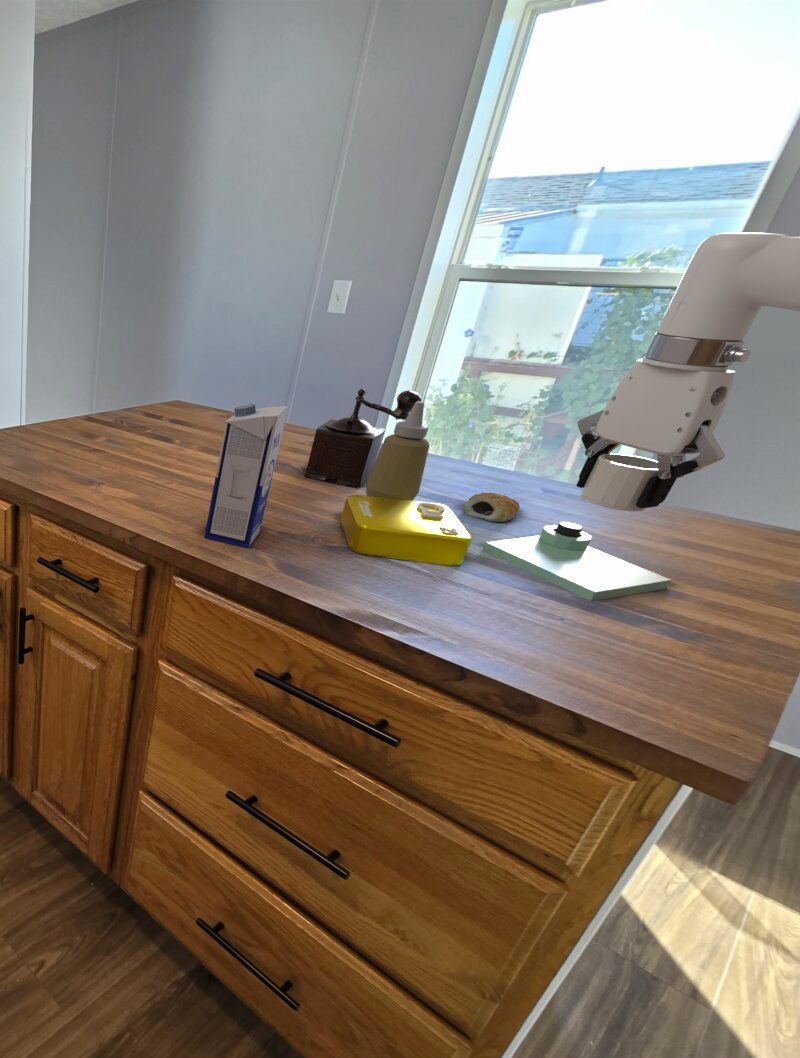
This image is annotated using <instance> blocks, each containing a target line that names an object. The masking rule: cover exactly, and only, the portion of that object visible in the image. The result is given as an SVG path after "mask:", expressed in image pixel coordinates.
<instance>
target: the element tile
mask: <svg viewBox="0 0 800 1058" xmlns="http://www.w3.org/2000/svg"><path fill="white" fill-rule="evenodd" d="M340 523H341V527H342V529H343V533H344V535H345V538H346V541H347V544H348V546H349V548H350V549H351V550H352V551H353V552H354V553H357V554H360V555H365V556H370V557H377V558H378V557H379V558H387V559H394V560H401V561H409V562H417V563H425V564H431V565H440V566H447V567H457V566H460V565H462V564H463V562H464V559H465V557H466V554H467V552H468V550H469V547H470V545H471V543H472V540H473V537H472V536H471V534H470V533H469V531H468V530H467V529H466V528H465V526H464V525H463V524H462V522H461V521H460V520H459V517H457V516H456V514H455V513H454V511H453V510H452V509H451V508H450V507H449V506H447V505H445V504H442V503H435V502H426V501H418V500H413V501H409V500H400V499H391V498H382V497H373V496H367V495H361V494H350V495H348V496H347V497H346V498H345V501H344V505H343V508H342V512H341V516H340Z"/></svg>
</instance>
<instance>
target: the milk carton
mask: <svg viewBox="0 0 800 1058" xmlns="http://www.w3.org/2000/svg"><path fill="white" fill-rule="evenodd" d="M288 411H289V405H282V406H275V405H273V406H269V407H268V406H267V407H262V408H256V404H255V403H252V404H246V405H240V406H237V407H235V408H234V415H232V416H231V417H229V418H228V419H227V420H225V422H224V429H223V434H222V439H221V445H220V451H219V456H218V460H217V466H216V470H215V478H214V482H213V488H212V494H211V498H210V504H209V508H208V509H209V510H208V515H207V519H206V526H205V531H204V539H207V540H211V541H216V542H220V543H224V544H228V545H232V546H236V547H241V548H245V549H249V548H250V547H251V545H252V544H253V542H254V541H255V540H256V539H257V537H258V536H259V535H260V532H261V527H262V524H263V519H264V515H265V511H266V506H267V502H268V497H269V493H270V488H271V485H272V479H273V475H274V471H275V466H276V462H277V458H278V454H279V450H280V445H281V440H282V436H283V431H284V428H285V423H286V418H287V414H288Z"/></svg>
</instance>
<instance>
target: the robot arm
mask: <svg viewBox="0 0 800 1058" xmlns="http://www.w3.org/2000/svg"><path fill="white" fill-rule="evenodd" d="M763 307H770V308H776V309H782V310H783V309H784V310H787V311H788V310H789V311H794V312H799V313H800V236H789V235H787V234H782V233H771V232H770V233H769V232H721V233H716V234H712V235H710V236H708V237H706V238H704V239H703V240H702V242H700V244H698V246H697V247H696V250H695V252H694V253H693V255H692V257H691V259H690V261H689V263H688V265H687V267H686V269H685V271H684V273H683V276H681V279H680V282H679V284H678V286H677V288H676V290H675V292H674V294H673V296H672V298H671V301H670V302H669V304H668V305H667V308H666V310H665V313H664V315H663V317H662V318H661V321H660V322H659V325H658V327H657V329H656V331H655V333H654V335H653V337H652V339H651V341H650V344H649V346H648V347H647V350H646V352H645V354H644V356H643V358H639V359H636V361H635V362H634V363H633V364H632V365H631V366H630V368H629V369H628V370H627V372H626V373H625V375H624V376H623V378H622V379H621V381H620V382H619V383H618V385H617V386H616V388H615V390H614V391H613V393H612V394H611V396H610V398H609V399H608V402H607V403H606V405H605V407H604V409H602V410H600V411H596V412H595V413H593V414H591V415H590V414H589V415H588V416H586V417H584V418H581V419H580V420H578V421H577V427H578V430H579V432H580V436H581V442H582V444H583V446H584V448H585V451H584V456H585V457H586V460H585V462H584V465H583V466H582V468H581V471H580V472H579V475H578V478H579V479H578V480H577V483H576V484H575V485H576V487H577V488H580V489H583V488H584V486H585V484H586V482H587V480H588V478H589V476H590V474H591V472H592V470H593V468H594V466H595V464H596V462H597V459H598V457H599V456H600V455H602V454H609V453H612V452H613V451H614V450H615V449H616V448H618V447H619V446H620V445H622V446H625V447H629V448H633V449H636V450H640V451H644V452H648V453H651V454H655V455H657V461H658V475H657V476H655V477H651V478H650V479H649V481H648V482H647V484H646V486H645V488H644V490H643V492H642V494H641V496H640V497H639V499H638V501H637V503H636V505H637V507H639V508H646V509H649V508H656V507H658V506H659V505H660V504H662V503H663V502H665V500H666V499H667V497H668V495H669V493H671V489H672V488H673V486H674V484H675V483H676V481H677V479H678V478H683V477H684V476H686V475H689V474H693V473H695V472H697V471H699V470H702V469H703V468H706V467H708V466H710V465H712V464H715V463H717V462H719V461H722V460H723V459H724V458H725V453H724V451H723V449H722V447H721V445H720V444H719V442H718V440H717V438H716V437H715V435H714V432H715V430H716V427H718V424H719V422H720V419H721V417H722V415H723V413H724V410H725V408H726V405H727V403H728V400H729V398H730V394H731V391H732V389H733V388H732V387H733V385H734V381H735V376H736V371H735V370H732V369H729V367H730V366H732V365H733V363H744V362H746V361H747V360H748V359H749V358H750V356H751V354H752V352H751V349H745V348H743V346H744V344H745V341H744V340H745V338H746V336H747V334H748V332H749V330H750V329H751V327H752V325H753V323H754V322H755V319H756V318H757V316H758V314H759V312H760V311H761V308H763ZM698 453H699V454H698ZM687 454H688V455H692V454H693V455H694V454H698V455H697V456H696V457H694V458H692V459H690V460H687V458H686V457H687Z"/></svg>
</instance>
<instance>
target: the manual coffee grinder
mask: <svg viewBox="0 0 800 1058" xmlns="http://www.w3.org/2000/svg"><path fill="white" fill-rule="evenodd" d="M366 394H367V391H366V389H365V388H360V389H359V390H357V396H356V397H355V401H356V402H355V404H354V409H353V412H352V414H351V416H346V417H343V418H341V419H329V420H328V421H326V422H325V423H323V424H322V425H319V426H318V427H317V428H316V430H315V433H314V438H313V441H312V445H311V449H310V454H309V458H308V461H307V466H306V470H305V472H304V477H305V478H309V479H314V480H318V481H323V482H327V483H331V484H339V485H344V486H350V487H356V488H360V487H363V486H364V485H366V482H367V480H368V477H369V475H370V473H371V470H372V468H373V466H374V463H375V461H376V459H377V456H378V454H379V452H380V449H381V446H382V445H381V444H382V442H383V440H384V439H383V438H384V436H385V432H386V428H383V427H379V426H374V425H371V424H370V423H369V422H367V421H366V420H365V419H363V418H359V413H360V411H361V408H362V407H361V406H362V404H363V405H364V406H366V407H367V408H370V409H372V410H373V409H374V410H376V411H379V412H381V413H385V414H387V415H389V416H391V417H393V418H394V419H395V421H398V420H402V421H405V420H406V418H407V416H408V415H409V413H410V411H411V409H412V408H413V406H414V404H415V402H417V401H419V402H422V397H421V395H420V394H419V393H418V392H417V391H414V390H411V389H408V390H403V391H401V392H400V393H399V394H398V395H397V396H396V407H395V409H394V410H392V409H390V408H389V407H386V406H383V405H380V404H376V403H373V402H371V401H368V400H367V399H365V395H366Z"/></svg>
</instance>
